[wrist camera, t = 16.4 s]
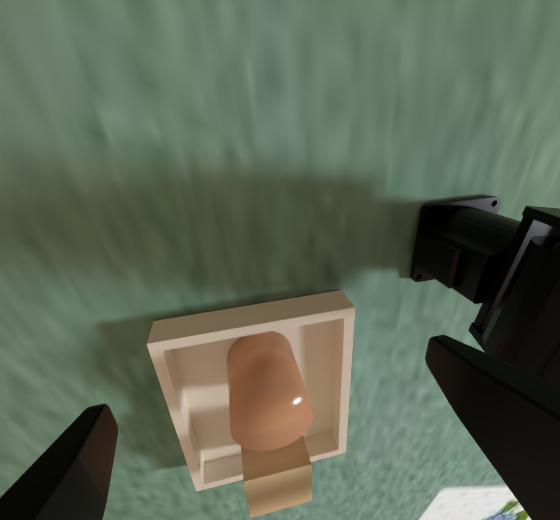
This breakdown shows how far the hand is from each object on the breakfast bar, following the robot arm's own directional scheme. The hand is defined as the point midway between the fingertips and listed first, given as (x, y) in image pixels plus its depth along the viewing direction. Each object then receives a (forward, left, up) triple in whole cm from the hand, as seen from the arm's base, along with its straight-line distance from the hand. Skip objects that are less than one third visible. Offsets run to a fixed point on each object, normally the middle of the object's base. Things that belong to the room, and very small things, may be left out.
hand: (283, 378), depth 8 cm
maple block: (0, +19, -12) cm, 23 cm away
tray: (0, +15, -13) cm, 20 cm away
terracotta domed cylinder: (0, +11, -12) cm, 17 cm away
